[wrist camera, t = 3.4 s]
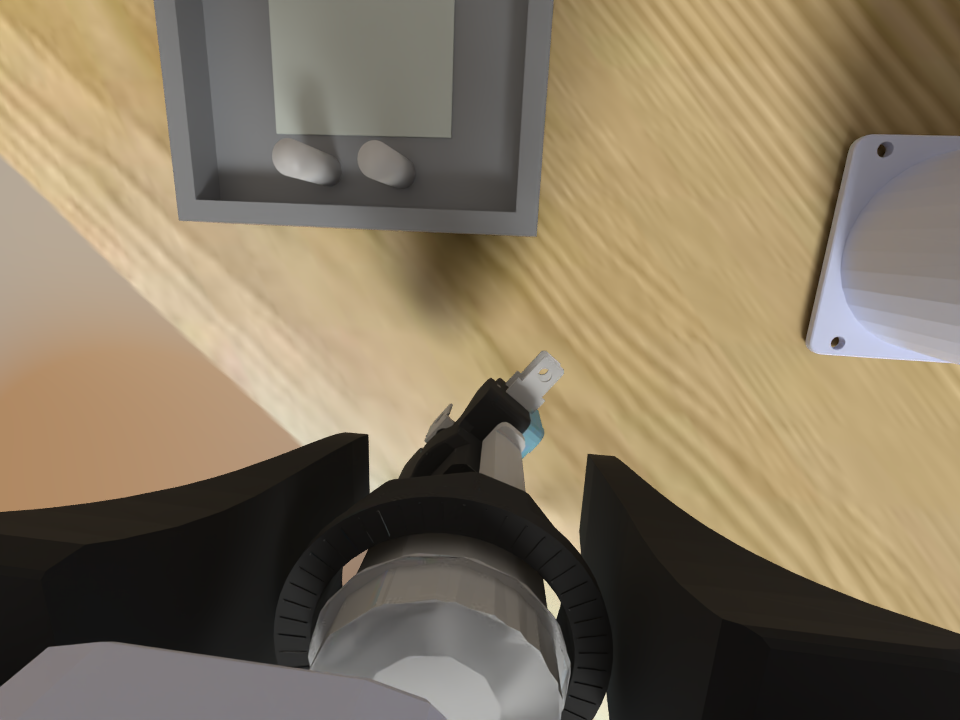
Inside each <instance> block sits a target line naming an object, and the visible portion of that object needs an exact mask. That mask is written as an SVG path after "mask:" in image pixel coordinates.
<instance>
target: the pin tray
mask: <svg viewBox="0 0 960 720" xmlns="http://www.w3.org/2000/svg"><path fill="white" fill-rule="evenodd" d="M553 1H554V0H154V7H155V16H156V25H157V34H158V42H159V51H160V60H161V69H162V77H163V86H164V95H165V103H166V112H167V121H168V130H169V138H170V147H171V156H172V165H173V173H174V182H175V191H176V200H177V208H178V217H179V220H180V221H196V222H213V223H233V224H256V225H278V226H301V227H323V228H345V229H368V230H390V231H413V232H435V233H457V234H480V235H502V236H525V237H536V236H537V222H538V208H539V194H540V181H541V167H542V153H543V139H544V125H545V112H546V98H547V84H548V70H549V56H550V42H551V29H552V15H553Z"/></svg>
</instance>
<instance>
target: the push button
mask: <svg viewBox="0 0 960 720" xmlns="http://www.w3.org/2000/svg"><path fill="white" fill-rule="evenodd" d="M542 369H548V371H547V373H545V374H542V375H541V374H539V371H540V370H542ZM563 374H564V369H563V368H561V367H560V363H559V362H558V361H557V360H556V359H555V358H553V357H552V356H551V355H550V354H549V353H548V352H547V351H541V352H540V353H539V354H538V356H537V357H536V358H535V359H534V360H533V361H532V362H531V363H530V364H529V365H528V366H527V367H526V369H525V370H524V371H523V372H522V373H520V372H518V371H517V372H516V373H515V374H514V375H513V376H512V377H511V378H510V379H509V380H508V381H507V382H505V381H504V380H502V379H501V378H499V379H498V380H496V381H495V380H493V379H492V378H490V379H488V380H487V381H486V382H485V383H484V384H483V385H482V386H481V388H480V389H479V390H478V391H477V392H476V394H475V395H474V397H473V398H472V400H471V402H470V403H469V405H468V406H467V408H466V409H465V411H464V412H463V414H462V415H461V417H460V418H459V419H458V420H457V421H456V422H454V421H453V420H452V419H451V418H450V417H449V416H448V415H449V414H450V412H451V409H452V406H453V405H452V404H450V405H448V407H447V408H446V409H445V410H444V411H443V412H442V413H441V414H440V415H439V417H438V418H437V419H436V420H435V421H434V422H433V424H432V425H431V426H430V429H429V431H428V433H427V435H426V438H425V442H426V443H427V444H426V445H425V446H424V448H420V449H419V450H418V451H417V452H416V453H415V454H414V455H413V456H412V458H411V459H410V460H409V461H408V462H407V464H406V465H405V466H404V468H403V470H402V472H401V474H400V476H399V479H393V480H389V481H387V482H385V483H384V484H383V485H381V486H380V487H378V488H377V489H376V490H374V491H373V492H371V493H370V494H369V495H367V496H366V497H364V498H363V499H361V500H360V501H359V502H357V503H356V504H354V505H353V506H351V507H350V508H349V509H348V510H347V511H345V512H344V513H342V514H341V515H339V516H338V517H336V518H335V519H334V520H333V521H332V522H330V523H329V524H328V525H327V526H325V527H324V528H323V529H322V530H321V531H320V532H319V533H318V535H317V536H316V537H315V538H314V539H313V540H312V541H311V543H310V544H309V545H308V547H307V548H306V549H305V551H304V552H303V553H302V555H301V556H300V558H299V559H298V561H297V562H296V564H295V565H294V567H293V568H292V570H291V572H290V574H289V575H288V577H287V579H286V581H285V584H284V586H283V588H282V591H281V593H280V597H279V600H278V604H277V608H276V614H275V621H274V646H275V655H276V659H277V664H278V665H279V666H286V667H293V668H300V669H307V670H314V671H320V672H327V673H334V674H341V675H348V676H355V677H362V678H369V679H372V680H375V681H378V682H381V683H383V684H386V685H389V686H392V687H394V688H397V689H400V690H403V691H405V692H408V693H411V694H414V695H417V696H419V697H422V698H425V699H427V700H428V701H429V702H430V703H431V704H432V705H433V706H434V707H435V708H436V709H437V710H438V711H439V712H441V713H442V714H443V715H444V716H445V717H446V718H447V719H448V720H593V718H594V716H595V715H596V713H597V711H598V709H599V707H600V706H601V704H602V701H603V699H604V696H605V694H606V691H607V688H608V684H609V680H610V677H611V671H612V663H613V639H612V631H611V625H610V621H609V617H608V613H607V610H606V606H605V603H604V600H603V597H602V594H601V591H600V589H599V586H598V584H597V581H596V579H595V577H594V575H593V574H592V572H591V570H590V568H589V566H588V565H587V563H586V562H585V560H584V559H583V557H582V556H581V554H580V553H579V552H578V551H577V550H576V548H575V547H574V546H573V545H572V544H571V543H570V541H569V540H568V539H567V538H566V537H564V536H563V535H562V534H561V533H560V532H559V531H558V530H557V529H556V528H555V527H554V526H553V525H552V523H551V522H550V521H549V519H548V518H547V517H546V516H545V514H544V513H543V512H542V511H541V509H540V508H539V507H538V505H537V504H536V503H535V502H534V500H533V499H532V498H531V496H530V495H529V494H528V493H526V491H525V482H524V473H523V463H522V459H523V458H524V457H525V456H526V455H527V454H528V452H529V453H530V452H531V451H532V450H533V449H534V448H535V447H536V446H537V445H538V444H539V442H540V441H541V440H542V438H543V436H544V429H543V428H542V424H541V420H540V416H539V412H538V410H537V409H538V408H539V407H540V406H541V405H542V404H543V402H544V401H545V400H544V399H543V398H542V397H543V395H544V394H545V393H546V392H547V391H548V390H549V389H550V388H551V387H552V386H553V385H554V384H555V383H556V382H557V381H558V380H559V379H560V377H561V376H562V375H563ZM367 549H368V551H367V553H366V555H365V557H364V559H363V562H362V564H361V566H360V568H359V570H358V572H357V574H356V575H355V576H353V577H352V578H351V579H350V580H349V581H348V582H347V583H346V584H345V585H344V586H343V587H342V569H343V566H344V565H345V564H347V563H348V562H349V561H350V560H351V559H353V558H354V557H356V556H357V555H359V554H360V553H362V552H364V551H365V550H367ZM543 579H544V580H545V581H546V582H547V583H548V584H549V585H550V587H551V588H552V589H553V591H554V592H555V593H556V595H557V596H558V598H559V600H560V601H561V605H560V609H559V613H558V616H557V619H555V617H554V616H553V615H552V614H551V612H550V611H549V610H548V609H547V603H546V596H545V589H544V582H543Z"/></svg>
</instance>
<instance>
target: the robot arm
mask: <svg viewBox="0 0 960 720" xmlns="http://www.w3.org/2000/svg"><path fill="white" fill-rule="evenodd" d="M880 144H882V145H884V147H885V154H884V156H883V157H879V155H878V154H877V149H878V147H879V145H880ZM835 337H838V338H839V342H838V344H837V345H836V346H835V347H831V341H832V339H834V338H835ZM806 346H807V348H808V349H809V350H810V351H812V352H814V353H817V354H823V355H838V356H853V357H868V358H883V359H898V360H914V361H929V362H944V363H955V364H958V365H960V136H937V135H889V134H871V135H866V136H863V137H860V138H858V139H857V140H855V141H854V142H853V143H852V144H851V146H850V148H849V151H848V155H847V160H846V164H845V169H844V173H843V177H842V182H841V186H840V191H839V195H838V200H837V204H836V208H835V213H834V217H833V222H832V226H831V230H830V235H829V239H828V244H827V248H826V253H825V257H824V261H823V266H822V270H821V275H820V279H819V284H818V288H817V292H816V297H815V301H814V306H813V310H812V314H811V319H810V323H809V328H808V332H807V337H806ZM369 494H370V489H369V441H368V434H357V433H346V432H344V433H339V434H335V435H332V436H329V437H326V438H323V439H321V440H318V441H315V442H313V443H310V444H307V445H305V446H302V447H300V448H297V449H295V450H292V451H290V452H287V453H284V454H282V455H279V456H277V457H274V458H271V459H268V460H265V461H262V462H260V463H257V464H254V465H251V466H249V467H245V468H243V469H240V470H237V471H234V472H230V473H227V474H224V475H221V476H217V477H214V478H210V479H207V480H203V481H199V482H195V483H191V484H188V485H183V486H180V487H175V488H170V489H165V490H160V491H155V492H151V493H145V494H140V495H135V496H130V497H126V498H120V499H113V500H106V501H100V502H94V503H86V504H78V505H70V506H62V507H53V508H45V509H34V510H21V511H8V512H0V720H448V719H447V718H446V717H445V716H444V715H443V714H442V713H441V712H439V711H438V710H437V709H436V708H435V707H434V706H433V705H432V704H431V703H430V702H429V701H428V700H427V699H425V698H422V697H419V696H417V695H414V694H411V693H408V692H405V691H403V690H400V689H397V688H394V687H392V686H389V685H386V684H383V683H381V682H378V681H375V680H372V679H369V678H362V677H355V676H348V675H341V674H334V673H327V672H320V671H314V670H307V669H300V668H293V667H286V666H279V665H278V664H277V659H276V655H275V646H274V621H275V614H276V608H277V604H278V600H279V597H280V593H281V591H282V588H283V586H284V584H285V581H286V579H287V577H288V575H289V574H290V572H291V570H292V568H293V567H294V565H295V564H296V562H297V561H298V559H299V558H300V556H301V555H302V553H303V552H304V551H305V549H306V548H307V547H308V545H309V544H310V543H311V541H312V540H313V539H314V538H315V537H316V536H317V535H318V533H319V532H320V531H321V530H322V529H323V528H324V527H325V526H327V525H328V524H329V523H330V522H332V521H333V520H334V519H335V518H336V517H338V516H339V515H341V514H342V513H344V512H345V511H347V510H348V509H349V508H350V507H351V506H353V505H354V504H356V503H357V502H359V501H360V500H361V499H363V498H364V497H366V496H367V495H369ZM579 533H580V547H581V556H582V557H583V559H584V560H585V562H586V563H587V565H588V566H589V568H590V570H591V572H592V574H593V575H594V577H595V579H596V581H597V584H598V586H599V589H600V591H601V594H602V597H603V600H604V603H605V606H606V610H607V613H608V617H609V621H610V625H611V631H612V639H613V663H612V671H611V677H610V680H609V684H608V688H607V691H606V693H607V702H608V711H609V720H960V634H958V633H955V632H952V631H949V630H946V629H943V628H940V627H937V626H934V625H931V624H928V623H925V622H922V621H919V620H916V619H913V618H910V617H907V616H904V615H901V614H898V613H895V612H892V611H889V610H886V609H883V608H880V607H877V606H874V605H871V604H869V603H866V602H863V601H861V600H858V599H856V598H853V597H851V596H848V595H846V594H843V593H841V592H838V591H835V590H833V589H830V588H828V587H825V586H823V585H820V584H818V583H816V582H813V581H811V580H809V579H807V578H804V577H802V576H800V575H797V574H795V573H793V572H791V571H789V570H786V569H784V568H782V567H780V566H778V565H776V564H774V563H772V562H770V561H768V560H766V559H764V558H762V557H760V556H758V555H756V554H754V553H752V552H750V551H748V550H746V549H744V548H743V547H741V546H739V545H737V544H735V543H734V542H732V541H730V540H729V539H727V538H725V537H724V536H722V535H720V534H718V533H717V532H715V531H713V530H712V529H710V528H708V527H707V526H705V525H704V524H702V523H701V522H699V521H698V520H696V519H695V518H693V517H692V516H690V515H689V514H688V513H686V512H685V511H683V510H682V509H680V508H679V507H678V506H676V505H675V504H674V503H672V502H671V501H670V500H668V499H667V498H666V497H664V496H663V495H662V494H661V493H659V492H658V491H657V490H656V489H654V488H653V487H652V486H651V485H649V484H648V483H647V482H646V481H645V480H643V479H642V478H641V477H640V476H639V475H637V474H636V473H635V472H634V471H633V470H631V469H630V468H629V467H628V466H627V465H626V464H624V463H623V462H622V461H621V460H619V459H618V458H616V457H615V456H605V455H594V454H588V456H587V466H586V475H585V484H584V493H583V502H582V511H581V520H580V530H579Z"/></svg>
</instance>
